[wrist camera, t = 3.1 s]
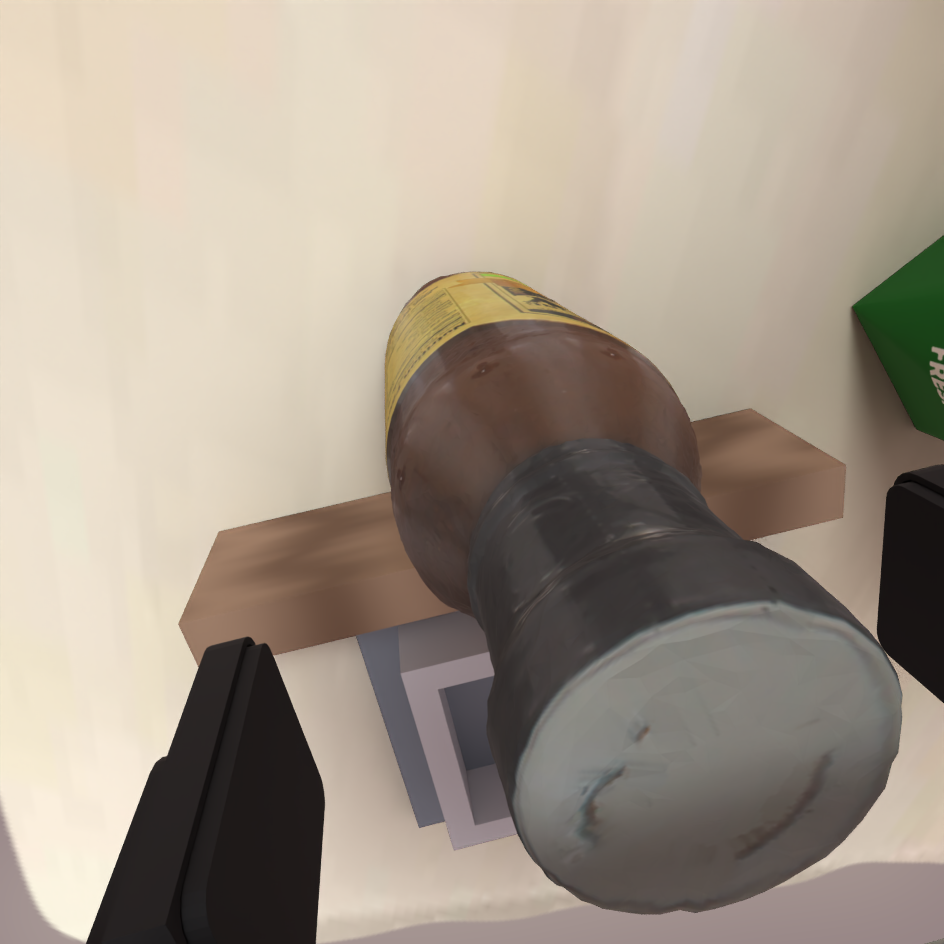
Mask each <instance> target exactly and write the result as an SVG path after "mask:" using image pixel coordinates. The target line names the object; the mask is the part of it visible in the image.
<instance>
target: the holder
mask: <svg viewBox="0 0 944 944" xmlns="http://www.w3.org/2000/svg"><path fill="white" fill-rule="evenodd" d="M356 637H357V640H358V643H359V646H360V649H361V652H362V655H363V658H364V661H365V665H366V668H367V671H368V674H369V677H370V680H371V683H372V686H373V689H374V692H375V695H376V698H377V701H378V704H379V707H380V710H381V713H382V716H383V719H384V722H385V725H386V728H387V731H388V735H389V738H390V741H391V744H392V747H393V750H394V753H395V756H396V759H397V762H398V765H399V768H400V771H401V774H402V777H403V780H404V783H405V786H406V789H407V792H408V795H409V798H410V801H411V805H412V808H413V811H414V814H415V817H416V820H417V823H418V826H419V828H421V827H425V826H428V825H432V824H436V823H440V822H444V821H445V822H446V826H447V829H448V832H449V836H450V839H451V842H452V845H453V849H454V850H457V849H461V848H465V847H469V846H473V845H477V844H480V843H484V842H488V841H492V840H496V839H500V838H503V837H507V836H511V835H515V834H517V832H516V829H515V826H514V823H513V820H512V817H511V814H510V811H509V808H508V804H507V800H506V796H505V792H504V789H503V786H502V783H501V780H500V777H499V774H498V770H497V766H496V763H495V761H494V759H493V757H492V753H491V749H490V745H489V741H488V738H487V731H486V725H487V718H488V710H487V700H488V697H489V694H490V691H491V687H492V684H493V679H494V669H493V666H492V663H491V660H490V653H489V650H488V647H487V640H486V636H485V633H484V631H483V630H482V628H481V627H480V626H479V624H478V622H477V620H476V619H475V618H473V617H471V616H469V615H467V614H464V613H461V612H460V611H455V612H451V613H447V614H443V615H439V616H435V617H430V618H426V619H422V620H418V621H414V622H410V623H406V624H401V625H397V626H393V627H389V628H385V629H381V630H377V631H373V632H368V633H364V634H360V635H356Z"/></svg>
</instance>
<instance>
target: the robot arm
mask: <svg viewBox="0 0 944 944" xmlns="http://www.w3.org/2000/svg"><path fill="white" fill-rule="evenodd" d="M877 635H878V639H879V642H880V644H881V646H882V647H883V649H884V650H885V652H886V653H887V654H888V655H889V656H890V657H891V658H892V659H893V660H895V661H896V662H897V663H898V664H899V665H900V666H902V667H903V668H904V669H905V670H906V671H907V672H908V673H910V674H911V675H912V676H913V677H914V678H915V679H916V680H918V681H919V682H920V683H921V684H922V685H923V686H925V687H926V688H927V689H928V690H929V691H930V692H931V693H933V694H934V695H935V696H936V697H937V698H938V699H940V700H941V701H942V702H943V703H944V465H935V466H931V467H927V468H923V469H919V470H915V471H911V472H907V473H903V474H901V475H900V476H898V478H897V479H896V481H895V483H894V486H893V487H891V488H890V489H889V491H888V492H887V497H886V509H885V523H884V537H883V551H882V565H881V579H880V593H879V606H878V620H877ZM324 810H325V797H324V789H323V784H322V780H321V777H320V774H319V771H318V769H317V766H316V764H315V761H314V759H313V756H312V754H311V751H310V748H309V746H308V743H307V741H306V738H305V736H304V733H303V731H302V728H301V726H300V723H299V720H298V718H297V715H296V713H295V710H294V708H293V705H292V703H291V700H290V697H289V695H288V692H287V690H286V687H285V685H284V682H283V680H282V677H281V675H280V672H279V669H278V667H277V664H276V662H275V659H274V657H273V654H272V652H271V649H270V647H269V646H268V645H267V644H266V643H262V644H258V645H256V644H255V642H254V640H253V639H252V638H251V637H248V636H247V637H243V638H239V639H235V640H231V641H227V642H223V643H219V644H215V645H211V646H209V647H207V648H206V650H205V652H204V654H203V657H202V660H201V662H200V665H199V668H198V671H197V674H196V677H195V679H194V682H193V685H192V688H191V691H190V693H189V696H188V699H187V702H186V705H185V707H184V710H183V713H182V716H181V719H180V721H179V724H178V727H177V730H176V733H175V736H174V738H173V741H172V744H171V747H170V750H169V752H168V755H167V756H166V757H162V758H161V759H160V760H158V761H157V762H156V763H155V765H154V767H153V769H152V770H151V772H150V774H149V777H148V780H147V782H146V785H145V788H144V790H143V793H142V796H141V798H140V801H139V804H138V806H137V809H136V812H135V814H134V817H133V820H132V822H131V825H130V828H129V830H128V833H127V836H126V838H125V841H124V844H123V846H122V849H121V852H120V854H119V857H118V860H117V862H116V865H115V868H114V870H113V873H112V876H111V878H110V881H109V884H108V886H107V889H106V892H105V894H104V897H103V900H102V902H101V905H100V908H99V910H98V913H97V916H96V918H95V921H94V924H93V926H92V929H91V932H90V934H89V937H88V940H87V942H86V944H316V931H317V916H318V900H319V885H320V870H321V855H322V840H323V825H324ZM927 944H944V938H943V939H940V940H937V941H933V942H930V943H927Z"/></svg>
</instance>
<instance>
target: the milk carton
mask: <svg viewBox="0 0 944 944" xmlns="http://www.w3.org/2000/svg"><path fill="white" fill-rule="evenodd" d="M852 307H853V309H854V311H855V313H856V315H857V316H858V318H859V320H860V322H861V324H862V326H863V328H864V330H865V332H866V334H867V336H868V338H869V339H870V341H871V343H872V345H873V347H874V349H875V351H876V353H877V355H878V357H879V359H880V361H881V362H882V364H883V366H884V368H885V370H886V372H887V374H888V376H889V378H890V380H891V382H892V383H893V385H894V387H895V389H896V391H897V393H898V395H899V397H900V399H901V401H902V403H903V405H904V406H905V408H906V410H907V412H908V414H909V416H910V418H911V420H912V422H913V424H914V426H915V427H916V429H917V430H919V431H922V432H924V433H927V434H929V435H932V436H934V437H937V438H939V439H942V440H944V236H942V237H941V238H940V239H938V240H937V241H936V242H935V243H933V244H932V245H931V246H929V247H928V248H927V249H926V250H924V251H923V252H922V253H920V254H919V255H918V256H916V257H915V258H914V259H913V260H911V261H910V262H909V263H907V264H906V265H905V266H904V267H902V268H901V269H900V270H898V271H897V272H896V273H895V274H893V275H892V276H891V277H889V278H888V279H887V280H886V281H884V282H883V283H882V284H880V285H879V286H878V287H876V288H875V289H874V290H873V291H871V292H870V293H869V294H867V295H866V296H865V297H864V298H862V299H861V300H860V301H858V302H857V303H856V304H855V305H853V306H852Z"/></svg>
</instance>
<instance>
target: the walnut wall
mask: <svg viewBox="0 0 944 944" xmlns="http://www.w3.org/2000/svg"><path fill="white" fill-rule="evenodd" d="M691 425H692V428H693V429H694V431H695V434H696V438H697V446H698V451H699V456H700V464H701V466H702V478H701V494H702V496H703V497H704V498H705V500H706V503H707V506H708V508H709V509H710V510H711V511H712V512H713V513H714V514H715V515H716V516H717V517H718V518H719V519H720V520H722V521H723V522H724V523H725V524H726V525H727V526H728V527H729V528H731V529H732V530H734V531H735V532H736V533H737V534H738V535H739V536H741V538H742V539H743V540H753V539H757V538H761V537H765V536H769V535H773V534H777V533H781V532H786V531H790V530H794V529H798V528H802V527H806V526H810V525H814V524H819V523H823V522H827V521H831V520H835V519H839V518H843V508H844V490H845V473H846V465H845V464H843V463H842V462H840V461H838V460H837V459H835V458H833V457H831V456H830V455H828V454H826V453H825V452H823V451H821V450H820V449H818V448H816V447H815V446H813V445H811V444H810V443H808V442H806V441H804V440H803V439H801V438H799V437H798V436H796V435H794V434H793V433H791V432H789V431H788V430H786V429H784V428H783V427H781V426H779V425H778V424H776V423H774V422H772V421H771V420H769V419H767V418H766V417H764V416H762V415H761V414H759V413H757V412H756V411H754V410H752V409H746V410H742V411H738V412H733V413H729V414H725V415H720V416H716V417H712V418H707V419H703V420H699V421H694V422H691ZM455 611H459V610H456V609H454V608H451V607H448V606H447V605H445V604H444V603H443V602H441V601H440V600H439V599H438V598H437V597H436V596H435V595H434V594H433V593H432V592H431V590H430V589H429V588H428V587H427V586H426V585H425V583H424V582H423V580H422V579H421V578H420V576H419V574H418V572H417V570H416V569H415V567H414V566H413V564H412V562H411V561H410V559H409V557H408V555H407V553H406V551H405V549H404V545H403V543H402V541H401V538H400V535H399V532H398V528H397V524H396V521H395V517H394V514H393V508H392V500H391V492H388V493H384V494H380V495H375V496H371V497H367V498H362V499H358V500H354V501H349V502H345V503H341V504H336V505H332V506H328V507H323V508H319V509H315V510H310V511H306V512H302V513H298V514H293V515H289V516H285V517H280V518H276V519H272V520H267V521H263V522H259V523H254V524H250V525H246V526H241V527H237V528H233V529H229V530H224V531H220V532H219V533H218V535H217V537H216V539H215V542H214V544H213V546H212V549H211V551H210V553H209V555H208V558H207V560H206V562H205V564H204V567H203V569H202V571H201V574H200V576H199V578H198V580H197V583H196V585H195V587H194V589H193V592H192V594H191V596H190V599H189V601H188V603H187V605H186V608H185V610H184V612H183V615H182V617H181V619H180V621H179V626H180V629H181V631H182V633H183V635H184V637H185V639H186V641H187V644H188V646H189V648H190V650H191V652H192V654H193V656H194V659H195V661H196V663H197V665H198V667H199V665H200V662H201V660H202V657H203V654H204V652H205V650H206V648H207V647H209V646H211V645H215V644H219V643H223V642H227V641H231V640H235V639H239V638H243V637H247V636H248V637H251V638H252V639H253V640H254V642H255V644H256V645H258V644H262V643H266V644H267V645H268V646H269V647H270V649H271V652H272V654H273V655H278V654H282V653H286V652H290V651H294V650H298V649H302V648H306V647H311V646H315V645H319V644H323V643H327V642H331V641H335V640H340V639H344V638H348V637H352V636H356V635H360V634H364V633H368V632H373V631H377V630H381V629H385V628H389V627H393V626H397V625H401V624H406V623H410V622H414V621H418V620H422V619H426V618H430V617H435V616H439V615H443V614H447V613H451V612H455Z"/></svg>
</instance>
